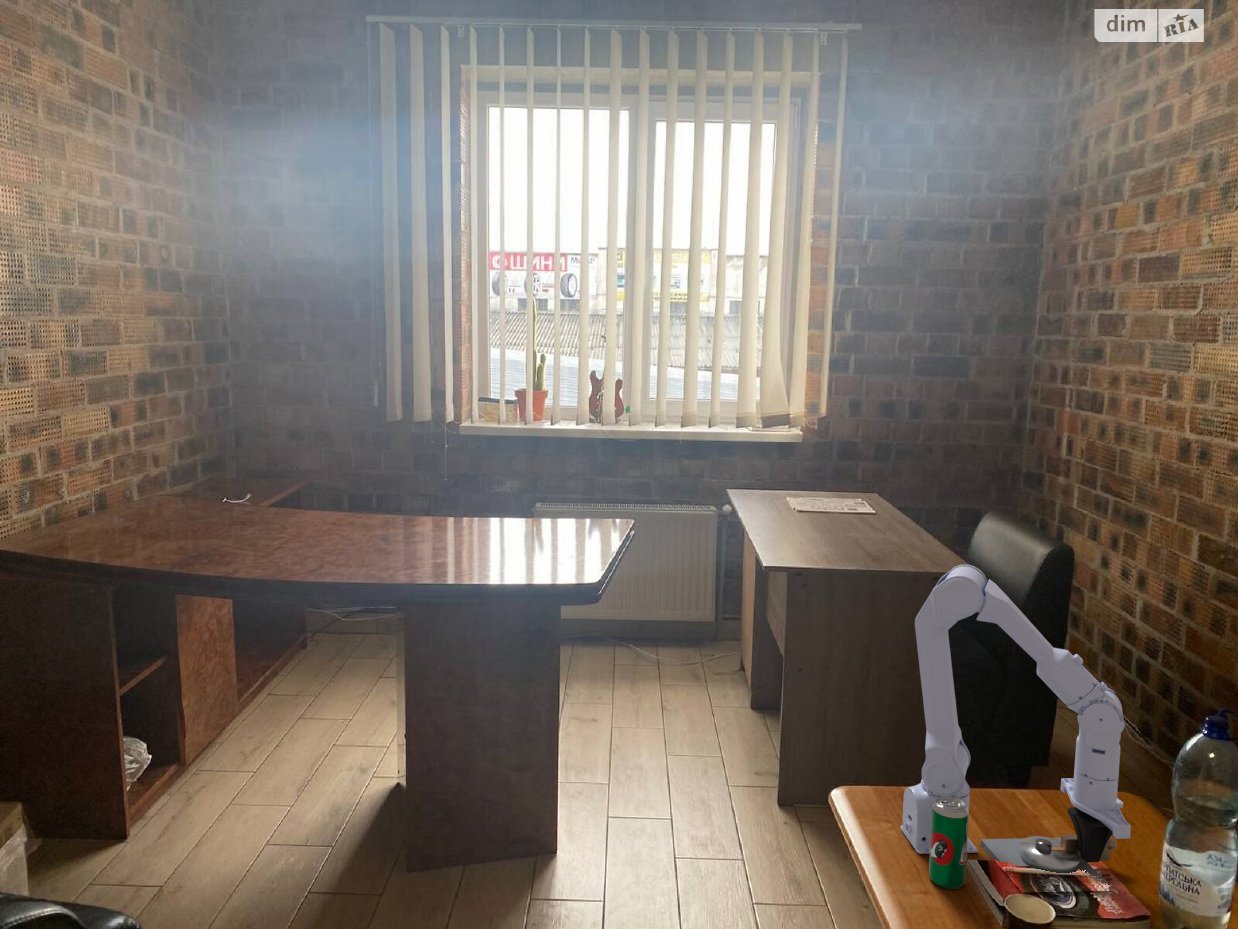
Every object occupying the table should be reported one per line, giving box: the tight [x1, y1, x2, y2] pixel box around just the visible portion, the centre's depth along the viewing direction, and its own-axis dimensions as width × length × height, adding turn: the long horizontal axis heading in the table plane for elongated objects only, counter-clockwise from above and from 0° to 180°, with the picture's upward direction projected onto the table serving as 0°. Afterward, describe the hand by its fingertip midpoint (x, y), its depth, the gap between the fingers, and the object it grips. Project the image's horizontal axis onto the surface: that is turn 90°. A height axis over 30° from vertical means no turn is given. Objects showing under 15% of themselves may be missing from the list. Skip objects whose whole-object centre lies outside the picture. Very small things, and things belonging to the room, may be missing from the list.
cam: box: [1020, 833, 1118, 873], centre depth 134 cm, size 14×8×4 cm, turn 93°
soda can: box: [928, 797, 970, 890], centre depth 130 cm, size 5×5×12 cm
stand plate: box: [980, 837, 1111, 886], centre depth 134 cm, size 13×13×1 cm
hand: (1090, 859), depth 132 cm, fingers closed
